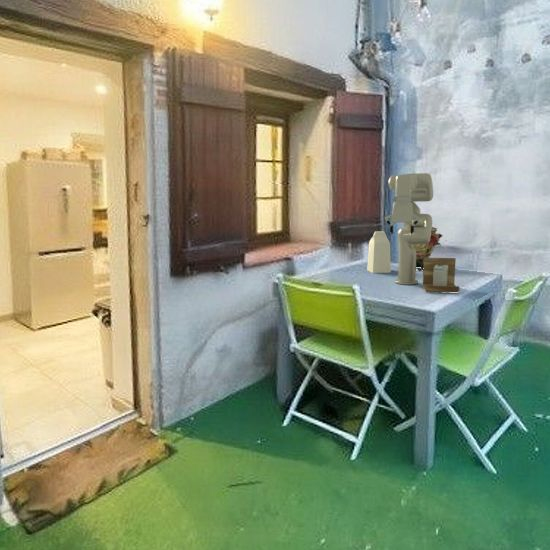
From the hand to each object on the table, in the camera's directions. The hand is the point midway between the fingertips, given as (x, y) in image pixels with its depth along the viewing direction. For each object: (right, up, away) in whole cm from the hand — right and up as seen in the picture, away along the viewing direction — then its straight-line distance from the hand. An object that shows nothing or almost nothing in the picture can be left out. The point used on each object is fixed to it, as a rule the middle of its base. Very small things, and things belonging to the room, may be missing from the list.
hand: (401, 233), depth 238 cm
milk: (+3, -19, +66) cm, 69 cm away
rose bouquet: (+32, -17, +73) cm, 82 cm away
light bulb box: (+22, -27, +8) cm, 36 cm away
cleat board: (+22, -29, +8) cm, 38 cm away
